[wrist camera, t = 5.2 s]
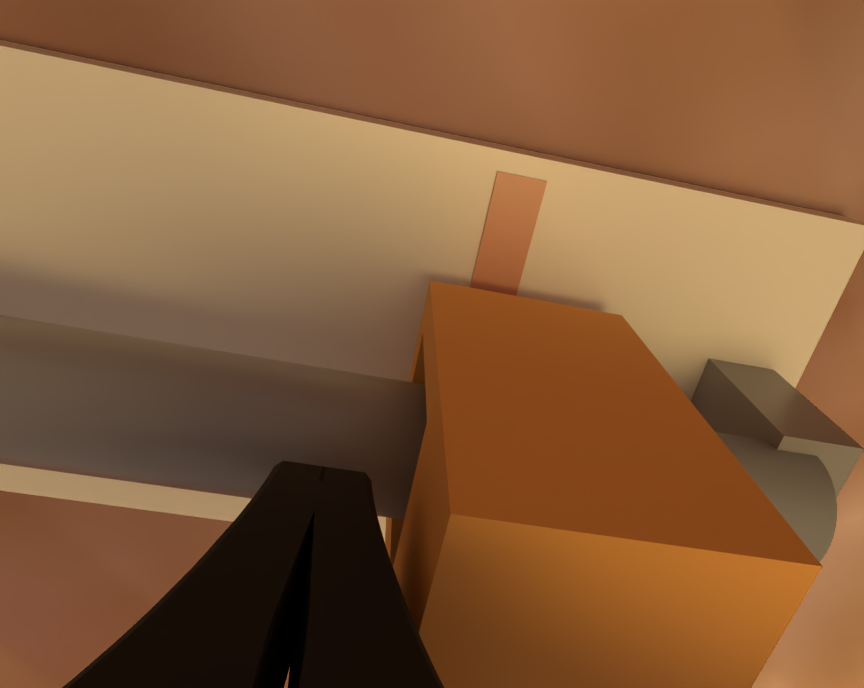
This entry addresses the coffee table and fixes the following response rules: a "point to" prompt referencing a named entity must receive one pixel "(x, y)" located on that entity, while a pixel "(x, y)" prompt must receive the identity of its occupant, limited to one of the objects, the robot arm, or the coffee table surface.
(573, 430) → the orange block with hole
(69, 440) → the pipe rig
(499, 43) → the coffee table surface
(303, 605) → the robot arm
